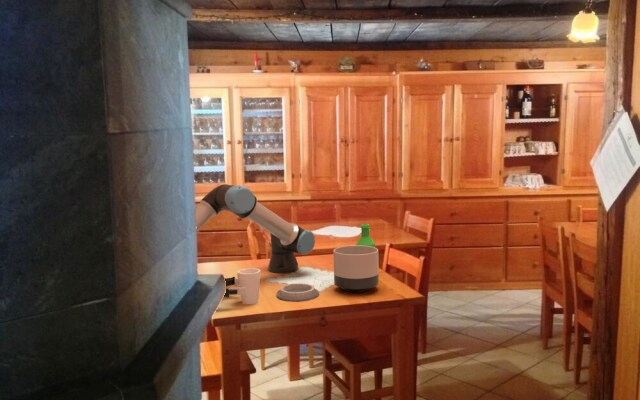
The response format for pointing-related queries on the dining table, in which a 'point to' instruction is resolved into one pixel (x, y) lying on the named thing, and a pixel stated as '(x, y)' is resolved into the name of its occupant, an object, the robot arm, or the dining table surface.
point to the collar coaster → (297, 292)
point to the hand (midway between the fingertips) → (248, 286)
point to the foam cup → (249, 284)
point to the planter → (356, 267)
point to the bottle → (365, 236)
